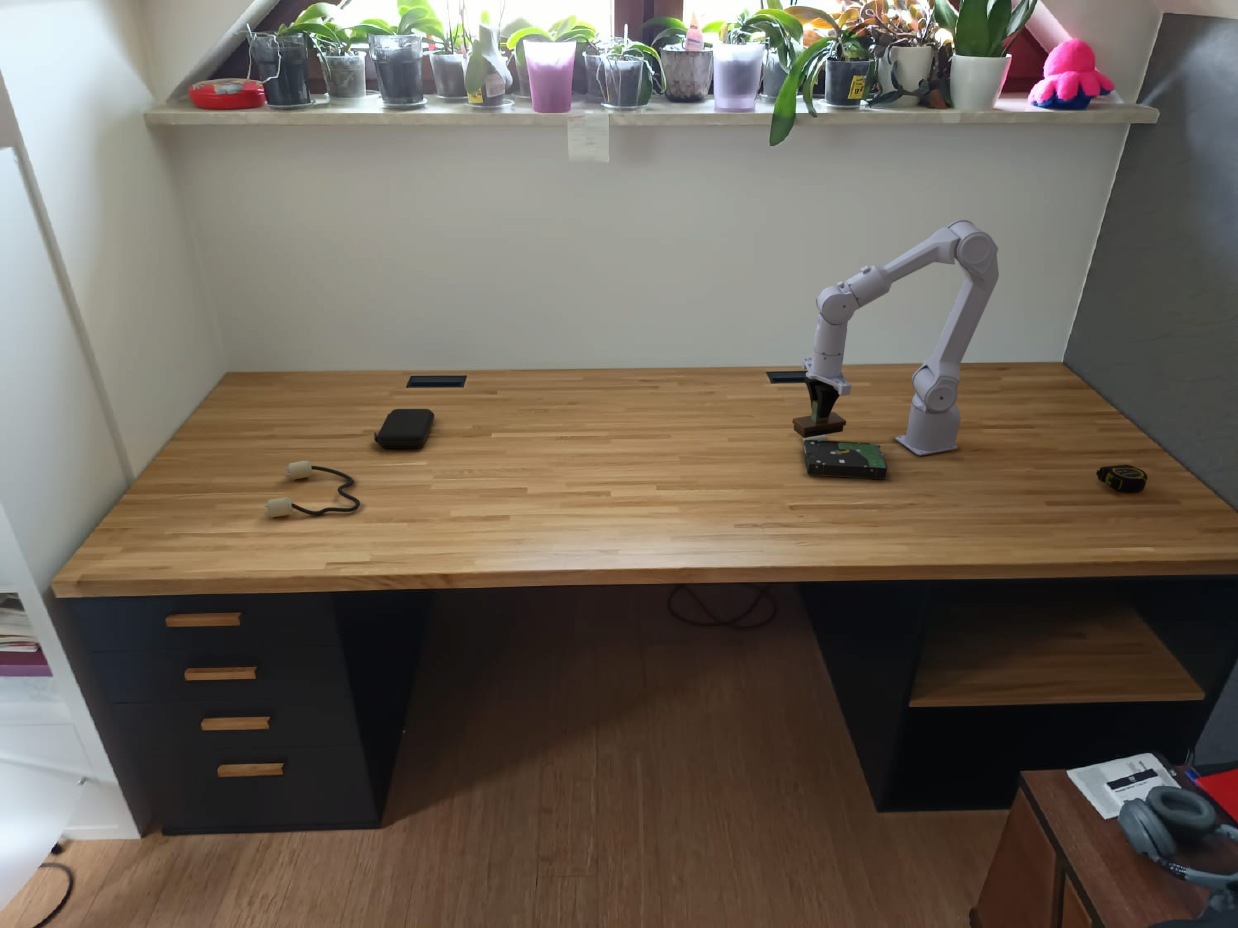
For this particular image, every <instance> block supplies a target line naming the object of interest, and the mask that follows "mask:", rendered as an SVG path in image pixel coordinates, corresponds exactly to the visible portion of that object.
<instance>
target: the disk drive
mask: <svg viewBox="0 0 1238 928" xmlns="http://www.w3.org/2000/svg"><path fill="white" fill-rule="evenodd" d="M802 450H803V457H804V463H805V469H806V474H807V475H811V476H821V477H822V476H823V477H840V478H843V477H844V478H856V479H857V478H859V479H872V480H873V479H876V480H879V479H880V480H883V479H884V480H886V479H887V475H888V469H889V467H888V464H887V460H886V457H885V455H884V452H883V451H882V447H881V445H880V444H876V443H870V442H855V441H854V442H853V441H835V440H828V441H822V440H804V441H803V448H802Z"/></svg>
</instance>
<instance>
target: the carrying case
mask: <svg viewBox="0 0 1238 928" xmlns="http://www.w3.org/2000/svg"><path fill="white" fill-rule="evenodd" d="M434 421H435V413H434V412H433V411H432V410H431V409H429V408H394V409H393V410H391V411H390V413H387V416H386V417H385V420H384V422H383V423H382V425H381V427H380V430H379V432H376V431H375V432H374V434H373V439H374V442H375V443H377V444H378V445H379V446H381V448H384V449H418V448H421V447H422V446H423V445H424V444H425V443H426V441H427V439H428V436H429V434H430V431H431V429H432V426H433V424H434V423H433V422H434ZM377 433H378V434H377Z"/></svg>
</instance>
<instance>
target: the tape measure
mask: <svg viewBox="0 0 1238 928" xmlns="http://www.w3.org/2000/svg"><path fill="white" fill-rule="evenodd" d="M1095 475H1096V476H1097V479H1098V481H1099V482H1101V483H1105V485H1106V486H1107V487H1108V488H1109V489H1111V490H1114V491H1117V492H1118V493H1124V494H1137V493H1141V492H1143V491H1144V489H1145V487H1146V485H1147V482H1148V474H1147V473H1146V472H1145V471H1144V470H1143V469H1141V468H1138V467H1137V466H1134V465H1131V464H1117V465H1108V466H1102V467H1100V468H1099V469H1096V473H1095Z"/></svg>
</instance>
